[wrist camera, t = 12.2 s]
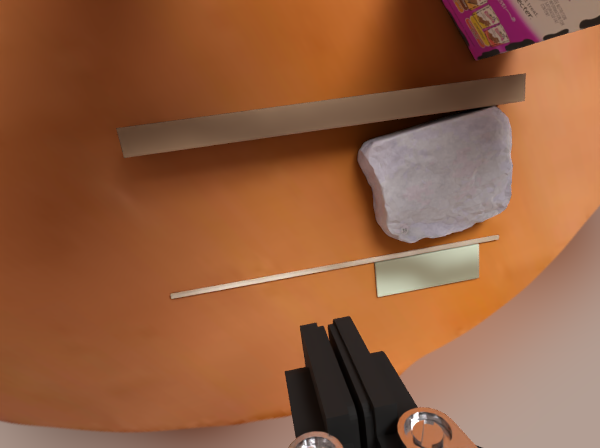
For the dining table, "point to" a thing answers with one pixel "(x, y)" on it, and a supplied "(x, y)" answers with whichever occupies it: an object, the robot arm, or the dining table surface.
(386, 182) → the stone block
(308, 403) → the robot arm
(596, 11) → the candy bar box
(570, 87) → the dining table surface
